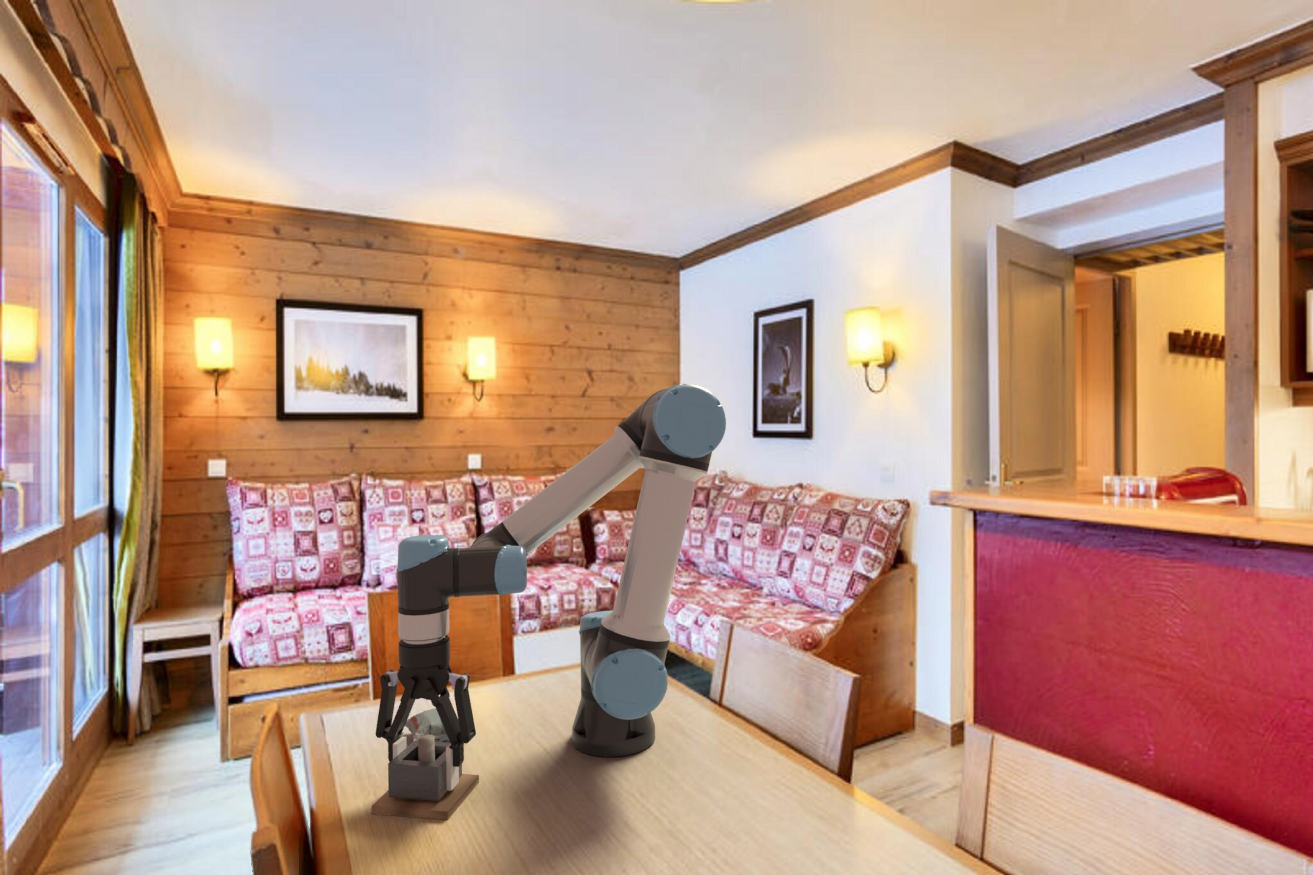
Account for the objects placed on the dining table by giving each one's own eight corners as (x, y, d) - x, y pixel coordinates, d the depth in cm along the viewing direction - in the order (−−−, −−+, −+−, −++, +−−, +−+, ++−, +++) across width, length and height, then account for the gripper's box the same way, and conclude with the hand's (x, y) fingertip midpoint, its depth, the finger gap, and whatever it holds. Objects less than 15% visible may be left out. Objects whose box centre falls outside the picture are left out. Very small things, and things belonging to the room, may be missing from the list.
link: (462, 774, 112) (461, 743, 112) (438, 800, 104) (438, 767, 104) (415, 771, 114) (414, 740, 114) (388, 796, 106) (388, 763, 106)
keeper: (478, 782, 114) (477, 725, 113) (447, 819, 103) (446, 756, 103) (409, 777, 115) (408, 721, 115) (371, 813, 105) (370, 751, 105)
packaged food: (411, 758, 123) (411, 730, 123) (402, 733, 133) (402, 706, 133) (462, 748, 127) (462, 720, 127) (450, 724, 137) (450, 698, 137)
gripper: (497, 632, 111) (499, 776, 111) (375, 627, 114) (377, 768, 114) (478, 646, 103) (480, 801, 104) (348, 641, 107) (350, 791, 107)
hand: (426, 783), depth 109 cm, fingers closed on link, 8 cm apart
